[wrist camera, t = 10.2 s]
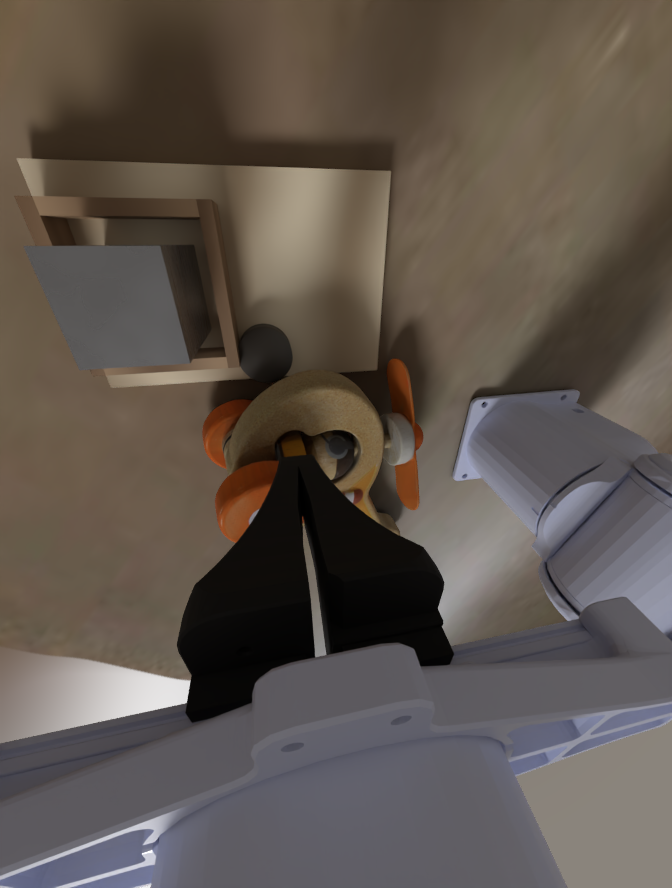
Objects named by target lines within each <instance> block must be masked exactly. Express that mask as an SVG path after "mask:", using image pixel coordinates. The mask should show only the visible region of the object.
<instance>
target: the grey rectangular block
mask: <svg viewBox="0 0 672 888" xmlns="http://www.w3.org/2000/svg"><path fill="white" fill-rule="evenodd" d="M24 249H25V251H26V253H27V255H28V257H29V260H30V262H31V264H32V266H33V268H34V271H35V273H36V275H37V277H38V279H39V282H40V284H41V286H42V288H43V290H44V293H45V295H46V297H47V299H48V301H49V304H50V306H51V308H52V310H53V312H54V315H55V317H56V319H57V321H58V324H59V326H60V328H61V330H62V332H63V335H64V337H65V339H66V341H67V343H68V346H69V348H70V350H71V352H72V354H73V357H74V359H75V361H76V363H77V365H78V368H79V370H89V369H106V368H124V367H141V366H158V365H175V364H190V363H191V362H192V360H193V358H194V357H195V355H196V354H197V352H198V350H199V349H200V347H201V346H202V344H203V342H204V341H205V339H206V338H207V336H208V334H209V333H210V331H211V330H212V329H211V324H210V319H209V314H208V309H207V305H206V300H205V295H204V290H203V285H202V280H201V276H200V271H199V266H198V261H197V256H196V251H195V247H194V245H69V246H24Z"/></svg>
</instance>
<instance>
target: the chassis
mask: <svg viewBox="0 0 672 888" xmlns="http://www.w3.org/2000/svg"><path fill="white" fill-rule="evenodd" d="M17 161H18V163H19V165H20V168H21V170H22V173H23V175H24V178H25V180H26V182H27V185H28V187H29V190H30V192H31V195H32V196H15V199H16V201H17V203H18V206H19V208H20V210H21V212H22V215H23V217H24V219H25V222H26V224H27V226H28V229H29V231H30V233H31V235H32V238H33V240H34V242H35V245H36V246H69V245H194V247H195V251H196V256H197V261H198V266H199V271H200V276H201V280H202V285H203V290H204V295H205V300H206V305H207V309H208V314H209V319H210V324H211V329H212V330H211V331H210V333H209V334H208V336H207V338H206V339H205V341H204V342H203V344H202V346H201V347H200V349H199V350H198V352H197V354H196V355H195V357H194V358H193V360H192V362H191V363H190V364H175V365H158V366H141V367H124V368H106V369H90V371H91V373H92V375H93V376H106V377H107V379H108V382H109V384H110V386H111V388H118V387H133V386H148V385H163V384H177V383H192V382H207V381H222V380H237V379H254V380H256V381H259V382H265V383H269V382H274V381H277V380H279V379H281V378H283V377H284V376H291V375H293V374H295V373H298V372H302V371H307V370H328V371H333V372H336V373H341V372H356V371H371V370H377V364H378V350H379V335H380V321H381V307H382V293H383V278H384V264H385V250H386V236H387V222H388V207H389V193H390V179H391V171H377V170H348V169H318V168H289V167H260V166H231V165H201V164H172V163H143V162H113V161H84V160H55V159H25V158H17Z"/></svg>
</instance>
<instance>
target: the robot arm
mask: <svg viewBox="0 0 672 888" xmlns="http://www.w3.org/2000/svg"><path fill="white" fill-rule="evenodd" d="M579 395H580V392H579V391H577V390H575V389H570V390H558V391H547V392H535V393H523V394H512V395H500V396H488V397H477V398H475V399H473V400H472V401H471V404H470V407H469V411H468V415H467V419H466V423H465V427H464V431H463V435H462V439H461V443H460V447H459V451H458V455H457V459H456V463H455V467H454V471H453V478H454V479H455V480H456V481H461V480H468V479H476V478H483V479H484V481H485V482H486V483H487V484H488V485H489V486H490V487H491V488H492V489H493V490H494V491H495V492H496V494H497V495H498V496H499V497H500V498H501V499H502V500H503V501H504V502H505V503H506V504H507V506H508V507H509V508H510V509H511V510H512V511H513V512H514V513H515V514H516V515H517V516H518V518H519V519H520V520H521V521H522V522H523V523H524V524H525V525H526V526H527V527H528V528H529V529H530V531H531V532H532V533H533V534H534V535H535V536H536V537H537V538H536V540H535V542H534V543H533V545H532V548H533V549H534V550H535V551H536V552H537V553H538V554H539V556H540V557H541V558H542V559H543V561H542V562H541V563H540V565H539V568H538V573H539V577H540V580H541V583H542V585H543V587H544V589H545V591H546V593H547V595H548V597H549V599H550V600H551V602H552V603H553V605H554V606H555V607H556V609H557V610H558V611H559V612H560V613H561V614H562V615H563V617H564V618H565V619H566V620H567V621H566V622H561V623H557V624H552V625H547V626H543V627H538V628H533V629H529V630H524V631H519V632H515V633H510V634H506V635H501V636H496V637H492V638H487V639H482V640H478V641H473V642H468V643H464V644H459V645H455V646H450V644H449V641H448V639H447V637H446V635H445V633H444V630H443V628H442V626H443V619H442V617H441V615H440V613H439V611H438V606H439V602H440V599H441V596H442V593H443V589H444V581H443V578H442V576H441V574H440V572H439V570H438V568H437V566H436V565H435V563H434V562H433V560H432V559H431V557H430V556H429V554H428V553H427V552H426V550H425V549H424V547H422V546H420V545H418V544H416V543H414V542H412V541H410V540H407V539H405V538H403V537H401V536H399V535H397V534H396V533H394V532H392V531H390V530H389V529H387V528H385V527H384V526H382V525H381V524H379V523H378V522H376V521H375V520H373V519H372V518H370V517H369V516H368V515H366V514H365V513H364V512H363V511H361V510H360V509H359V508H358V507H357V506H355V505H354V504H353V503H352V502H351V501H350V500H349V499H348V498H347V497H346V496H345V495H344V494H343V493H342V492H341V491H340V490H339V489H338V488H337V487H336V486H335V485H334V483H333V482H332V481H331V480H330V479H329V477H328V476H327V475H326V474H325V472H324V471H323V469H322V468H321V467H320V465H319V464H318V462H317V460H316V459H315V457H314V456H313V455H312V454H308V455H299V456H289V457H281V458H280V459H279V463H278V468H277V471H276V474H275V477H274V480H273V482H272V485H271V487H270V490H269V492H268V494H267V496H266V498H265V500H264V502H263V504H262V506H261V507H260V509H259V511H258V513H257V514H256V516H255V517H254V519H253V521H252V522H251V524H250V525H249V526H248V528H247V529H246V531H245V532H244V533H243V535H242V536H241V537H240V539H239V540H238V541H237V542H236V544H235V545H234V546H233V547H232V548H231V549H230V550H229V551H228V553H227V554H226V555H225V556H224V557H223V558H222V559H221V560H220V561H219V562H218V564H217V565H216V566H214V567H213V568H212V569H211V570H210V571H209V572H208V573H207V574H206V575H205V576H204V577H203V578H202V579H201V580H200V581H199V582H197V583H196V584H195V586H194V588H193V590H192V593H191V595H190V598H189V600H188V603H187V606H186V609H185V611H184V615H183V618H182V622H181V627H180V632H179V637H178V641H177V648H178V651H179V654H180V655H181V657H182V659H183V661H184V663H185V664H186V666H187V668H188V670H189V672H190V673H191V675H192V677H191V682H190V689H189V694H188V701H187V703H186V704H181V705H177V706H172V707H168V708H163V709H158V710H154V711H149V712H144V713H139V714H135V715H130V716H126V717H121V718H117V719H112V720H107V721H102V722H98V723H93V724H89V725H84V726H80V727H75V728H70V729H66V730H61V731H56V732H51V733H47V734H43V735H38V736H33V737H28V738H24V739H19V740H14V741H10V742H5V743H1V744H0V888H139V887H143V886H148V885H151V887H150V888H567V885H566V884H565V881H564V879H563V877H562V875H561V873H560V871H559V868H558V866H557V864H556V862H555V860H554V858H553V855H552V853H551V851H550V849H549V847H548V845H547V843H546V840H545V838H544V836H543V835H542V832H541V830H540V828H539V826H538V823H537V821H536V819H535V817H534V815H533V813H532V811H531V809H530V806H529V804H528V802H527V800H526V798H525V796H524V793H523V791H522V789H521V787H520V785H519V783H518V781H517V778H516V776H518V775H521V774H524V773H526V772H529V771H532V770H534V769H537V768H540V767H543V766H546V765H548V764H551V763H554V762H557V761H560V760H562V759H565V758H568V757H571V756H573V755H576V754H579V753H582V752H584V751H587V750H590V749H593V748H596V747H599V746H601V745H604V744H607V743H610V742H613V741H616V740H619V739H622V738H625V737H628V736H631V735H635V734H638V733H641V732H644V731H648V730H651V729H654V728H658V727H661V726H664V725H665V724H667V723H668V722H670V721H671V720H672V455H671V454H667V453H658V452H657V450H656V449H655V448H654V447H653V446H652V445H651V444H650V443H649V442H648V441H647V440H646V439H645V438H643V437H641V436H640V435H638V434H636V433H634V432H632V431H630V430H628V429H626V428H624V427H622V426H620V425H619V424H617V423H615V422H613V421H611V420H609V419H607V418H605V417H603V416H601V415H599V414H597V413H595V412H593V411H591V410H589V409H587V408H586V407H584V406H582V405H580V404H578V403H576V402H577V400H578V398H579ZM483 402H485V403H484V404H483V405H482V403H483ZM302 516H303V519H302ZM303 520H304V524H305V529H306V533H307V537H308V541H309V545H310V550H311V554H312V558H313V562H314V567H315V573H316V580H317V587H318V594H319V602H320V609H321V617H322V624H323V632H324V639H325V647H326V654H327V655H325V656H320V657H315V648H314V636H313V623H312V610H311V598H310V590H309V582H308V575H307V569H306V562H305V555H304V548H303Z"/></svg>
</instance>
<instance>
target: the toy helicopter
mask: <svg viewBox="0 0 672 888" xmlns="http://www.w3.org/2000/svg"><path fill="white" fill-rule="evenodd" d="M387 379H388V385H389V391H390V396H391V402H392V412H393V413H389V414H384V415H382V416H381V417H379V414H378V412H377V411H376V409H375V407H374V406H373V404H372V403H371V402H370V401H369V399H368V398H367V397H366V395H365V394H364V393H363V391H362V390H361V389H360V388H359V387H358V386H357V385H356V384H355V383H353V382H352V381H351V380H349V379H348V378H347V377H345V376H343V375H341V374H339V373H336V372H333V371H328V370H307V371H302V372H298V373H295V374H293V375H291V376H288V377H286V378H284V379H282V380H280V381H278V382H276V383H275V384H273V385H272V386H270V387H269V388H267V389H266V390H265V391H263V392H262V393H261V394H260V395H258V396H257V397H256V398H255V399H254V400H253V401H252V400H245V399H237V400H233V401H229V402H226V403H224V404H222V405H220V406H218V407H217V408H215V409H214V410H213V411H212V412H211V413H210V414H209V415H208V417H207V419H206V420H205V422H204V425H203V442H204V448H205V451H206V453H207V455H208V456H209V458H210V459H211V460H212V461H213V462H214V463H216V464H217V465H219V466H221V467H223V468H226V469H227V472H228V477H227V478H226V479H225V480H224V482H223V483H222V485H221V486H220V488H219V490H218V492H217V494H216V499H215V507H216V514H217V520H218V524H219V527H220V529H221V531H222V533H223V534H224V535H225V536H226V537H227V538H228V539H230V540H231V541H233V542H235V543H236V542H237V541H238V540H239V539H240V537H241V536H242V535H243V533H244V532H245V531H246V529H247V528H248V526H249V525H250V524H251V522H252V521H253V519H254V517H255V516H256V514H257V513H258V511H259V509H260V507H261V506H262V504H263V502H264V500H265V498H266V496H267V494H268V492H269V490H270V487H271V485H272V482H273V480H274V477H275V474H276V471H277V468H278V463H279V459H280V458H281V457H289V456H299V455H308V454H312V455H313V456H314V457H315V459H316V460H317V462H318V464H319V465H320V467H321V468H322V469H323V471H324V472H325V474H326V475H327V476H328V477H329V479H330V480H331V481H332V482H333V483H334V485H335V486H336V487H337V488H338V489H339V490H340V491H341V492H342V493H343V494H344V495H345V496H346V497H347V498H348V499H349V500H350V501H351V502H352V503H353V504H354V505H355V506H357V507H358V508H359V509H360V510H361V511H363V512H364V513H365V514H366V515H368V516H369V517H370V518H372V519H373V520H375V521H376V522H378V523H379V524H381V525H382V526H384V527H385V528H387V529H389V530H390V531H392V532H394V533H396V534H397V535H399V536H400V531H399V529H398V527H397V526H396V524H395V522H394V520H393V519H392V517H391V516H390V515H388V514H386V513H378V512H377V511H376V509H375V506H374V504H373V502H372V500H371V498H370V496H369V490H370V488H371V486H372V484H373V483H374V481H375V479H376V476H377V474H378V472H379V469H380V466H381V463H382V459H383V458H384V459H385V460H386V461H387V462H388V463H389V464H390V465H395V471H396V487H397V493H398V496H399V498H400V500H401V501H402V503H403V504H404V505H405V506H406V507H407V508H408V509H410V510H416V509H417V508H418V506H419V485H418V470H417V460H416V450H417V449H419V447H420V446H421V444H422V442H423V432H422V429H421V427H420V426H419V425H418V424H417V423H415V417H414V405H413V397H412V389H411V382H410V376H409V372H408V370H407V368H406V366H405V364H404V363H403V362H402V361H401V360H400V359H392V360H390V361H389V363H388V366H387ZM298 430H299V431H302V432H304V434H303V435H302V437H301V435H300V433H299V431H298ZM345 431H348V432H350V433H351V439H350V438H349V436H348V435H347V433H346V432H345ZM302 519H303V516H302ZM303 526H305V524H304V520H303Z"/></svg>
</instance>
